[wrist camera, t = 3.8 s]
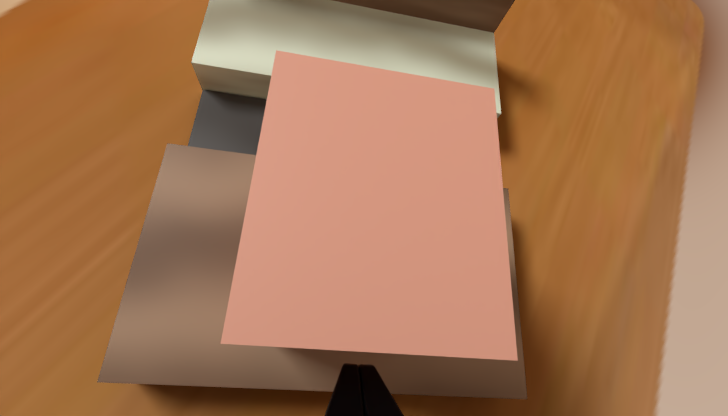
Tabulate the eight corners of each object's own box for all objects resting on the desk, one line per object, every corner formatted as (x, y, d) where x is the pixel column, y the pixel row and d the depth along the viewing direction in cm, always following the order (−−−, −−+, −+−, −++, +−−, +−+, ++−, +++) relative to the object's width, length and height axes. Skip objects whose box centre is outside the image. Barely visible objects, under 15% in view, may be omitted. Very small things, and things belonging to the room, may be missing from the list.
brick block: (401, 344, 16) (517, 360, 7) (265, 336, 15) (220, 344, 6) (404, 200, 18) (494, 88, 10) (287, 186, 17) (276, 50, 9)
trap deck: (498, 390, 18) (576, 414, 13) (127, 374, 16) (43, 395, 10) (475, 49, 26) (518, -20, 21) (227, 1, 23) (207, -90, 18)
